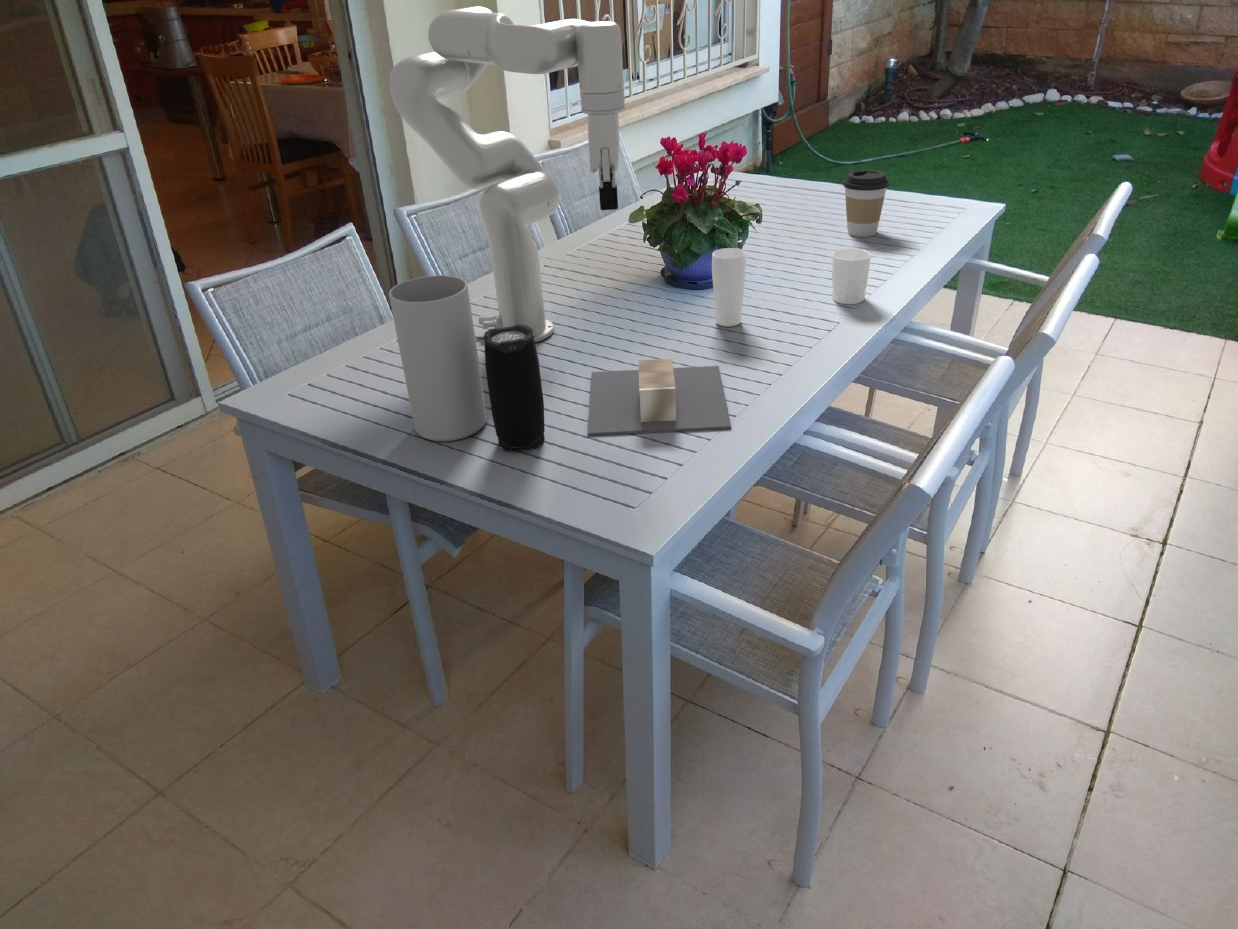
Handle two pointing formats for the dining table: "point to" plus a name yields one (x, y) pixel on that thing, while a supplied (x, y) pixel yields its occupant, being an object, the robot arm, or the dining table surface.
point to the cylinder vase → (439, 356)
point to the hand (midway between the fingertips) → (609, 208)
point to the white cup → (850, 275)
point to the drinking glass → (728, 285)
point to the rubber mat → (621, 402)
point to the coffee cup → (864, 201)
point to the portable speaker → (514, 387)
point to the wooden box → (657, 390)
